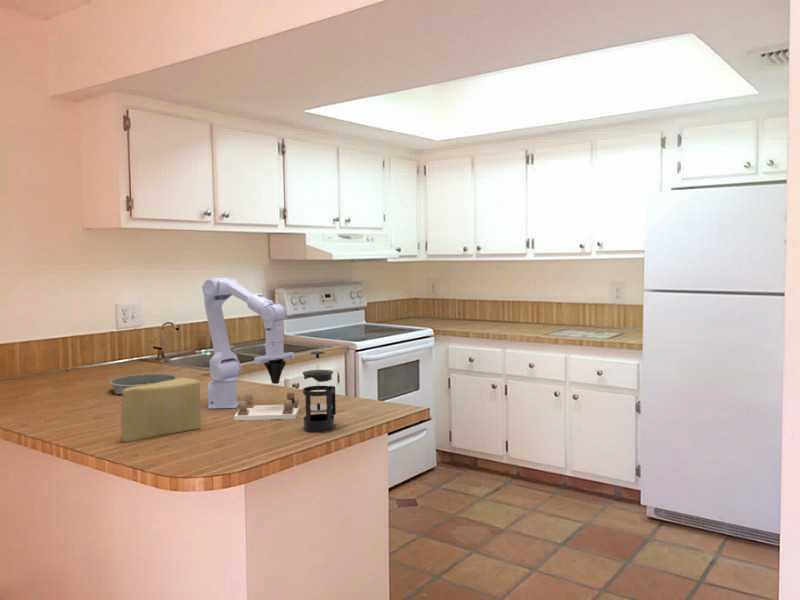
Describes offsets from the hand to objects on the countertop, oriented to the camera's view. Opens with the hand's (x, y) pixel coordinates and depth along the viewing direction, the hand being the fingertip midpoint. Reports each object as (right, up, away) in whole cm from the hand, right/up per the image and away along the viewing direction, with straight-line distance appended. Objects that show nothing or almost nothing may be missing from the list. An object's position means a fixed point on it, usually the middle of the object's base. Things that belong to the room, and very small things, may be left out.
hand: (275, 383), depth 214 cm
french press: (+17, -11, -18) cm, 27 cm away
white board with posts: (-2, -10, 0) cm, 10 cm away
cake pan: (-59, -8, +42) cm, 73 cm away
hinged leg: (+5, -8, +2) cm, 10 cm away
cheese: (-29, -12, -22) cm, 39 cm away
